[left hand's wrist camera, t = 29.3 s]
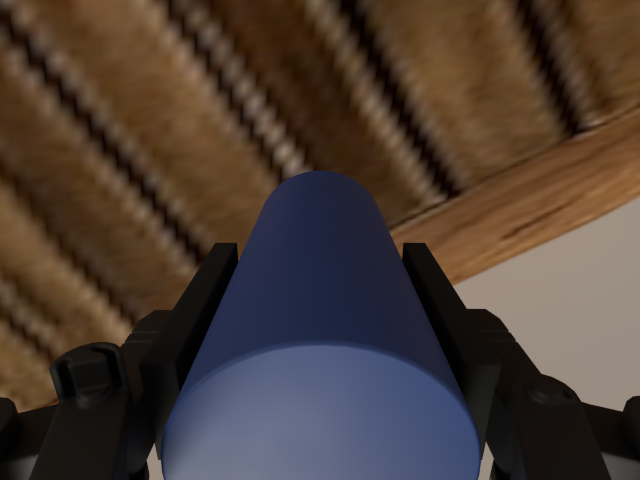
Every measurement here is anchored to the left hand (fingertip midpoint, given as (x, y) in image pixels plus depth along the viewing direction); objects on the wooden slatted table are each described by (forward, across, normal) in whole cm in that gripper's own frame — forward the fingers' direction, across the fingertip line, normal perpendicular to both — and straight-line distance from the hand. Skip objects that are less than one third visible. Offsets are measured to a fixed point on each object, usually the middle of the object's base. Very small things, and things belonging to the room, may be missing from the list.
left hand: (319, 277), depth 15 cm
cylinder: (+5, 0, 0) cm, 5 cm away
